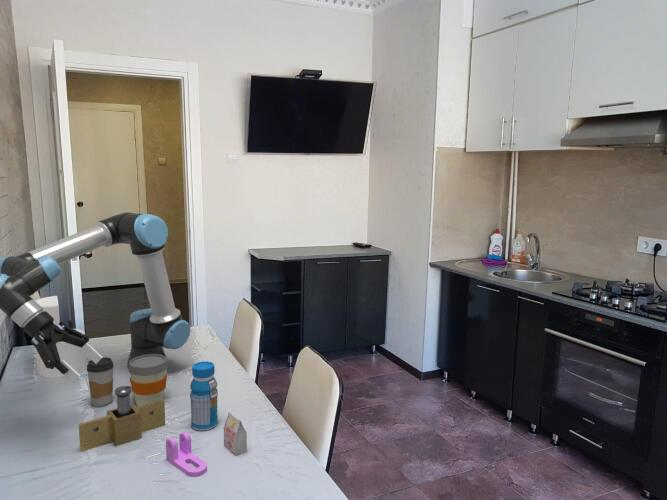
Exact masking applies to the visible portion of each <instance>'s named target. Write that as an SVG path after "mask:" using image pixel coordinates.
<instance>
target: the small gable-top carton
mask: <svg viewBox="0 0 667 500" xmlns="http://www.w3.org/2000/svg"><path fill="white" fill-rule="evenodd" d="M247 434H248V433H247V431H246V428H245V427H244V425H243V423H242V421H241V420H240V419H239V418H238V417H237V416H235V415H234V414H233V413H231V412H228V415H227V418H226V420H225V423H224V425H223V447H224V448H226V449H227V450H228V451H229V452H230V453H232V455H234V456H235V457H237V456H239V455H242V454H244V453H247V452H248V447H247V446H248V439H247V437H248V435H247Z"/></svg>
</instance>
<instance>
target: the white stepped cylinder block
mask: <svg viewBox="0 0 667 500" xmlns="http://www.w3.org/2000/svg"><path fill="white" fill-rule="evenodd" d="M58 298H59V297H58V295H52V296H46V297H41V298H37V299H36V300H34V301H35V302H37V303H38V304H39V305H40V306H41V307H42V308H43V311H46V312H48V313H49V314H50V315H51V316H52V317H53V318H54V321H53V323H54V324H55V325H58V324H59V323H60V322H61V320H60V319H61V318H60V306H59V300H58ZM73 329H74V330H76V331H78V332H80V333H82V334H84V335H86V333H85V330H83V329H80V328H73ZM62 335H63V334H62ZM56 346H57V350H58V353H59V357H60V360H61V361H62V360H64V361H65V362H67V363H68V364H69V365H70V366H71V367H72V368H73V369H74V370H75V371H77V372H78V373H80V372H82V371H83V370H85V369H87V365H88V362H87V355H86V354H85V353H83V352H82V351H81V350H80V349H81V347H78V346H75V345H72V344H69V343H66V342H58V343H56ZM35 357H36V372H37V375H38V376H40V377H42V378H49V377H55V378H62V377H66V376H65V375H64V374H62V373H61V372H60V371H59V370H58V369H56V368H55V367H54V368H53V369H50V368H46V366H45V365H44V363H43V361H42V359H41V357H40V355H39V353H38V352H37V350H36V349H35ZM61 361H60V362H61ZM48 362H50V361H48Z"/></svg>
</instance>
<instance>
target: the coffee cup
mask: <svg viewBox="0 0 667 500" xmlns="http://www.w3.org/2000/svg"><path fill="white" fill-rule="evenodd" d="M102 357H103V358H102V359H101V360H100V361H99V362H98V363H97V364H95V363H94V362H93V361H92V360H91V359H90V360H89V361H88V362H87V366H86V372H87V377H88V378H87V379H88V386H89V394H90V398H91V399H90V400H91V404H92V405H93V406H94V407H97V408H101V407H106V406H109V405H110V404H111V403H112V402H113V392H114V367H115V366H114V362H113V360H112V358H110V357H105V356H102Z"/></svg>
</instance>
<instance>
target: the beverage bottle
mask: <svg viewBox="0 0 667 500" xmlns="http://www.w3.org/2000/svg"><path fill="white" fill-rule="evenodd" d="M215 370H216V369H215V364H214V362H212V361H206V360H205V361H204V360H203V361H199V362H196V363H194V364H192V368H191V373H192V374H191V375H192V380H191V383H190V385H189V387H190V388H189V389H190V393H189V398H190V413H191V416H190V417H191V418H190V419H191V420H190V421H191V422H190V424H191V427H192V429H193V430H196V431H208V430H212V429H214V428H215V427H216V426H217V425H218V422H219V419H218V394H219V393H218V389H217V387H218V382H217V379H216V378H215V376H214V375H215V374H216V373H215Z"/></svg>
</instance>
